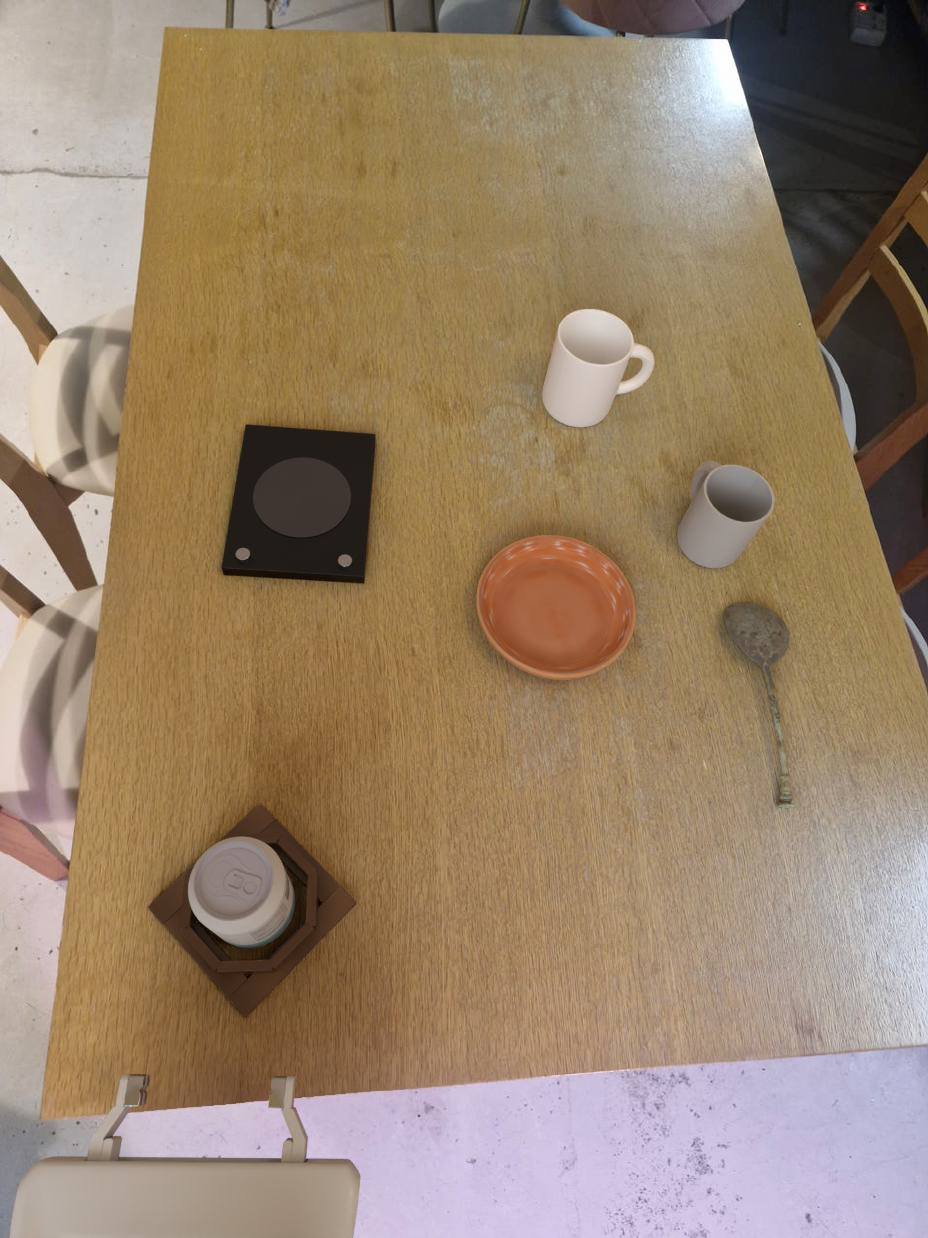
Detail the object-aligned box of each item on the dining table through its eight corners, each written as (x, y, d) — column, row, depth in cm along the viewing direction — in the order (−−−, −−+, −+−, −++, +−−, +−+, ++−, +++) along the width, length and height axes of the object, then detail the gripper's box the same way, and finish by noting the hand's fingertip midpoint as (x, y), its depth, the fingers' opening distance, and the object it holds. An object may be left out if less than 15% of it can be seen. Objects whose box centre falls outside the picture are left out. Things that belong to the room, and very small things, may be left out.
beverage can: (236, 851, 73) (213, 816, 62) (310, 882, 72) (299, 852, 62) (196, 930, 70) (164, 908, 59) (273, 963, 69) (255, 947, 58)
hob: (364, 583, 86) (364, 573, 84) (223, 575, 85) (220, 564, 83) (375, 442, 94) (375, 429, 92) (247, 432, 93) (244, 420, 91)
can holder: (246, 1018, 67) (241, 1016, 64) (149, 908, 70) (140, 902, 67) (356, 903, 72) (356, 897, 69) (261, 805, 75) (257, 796, 72)
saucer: (444, 586, 87) (446, 571, 84) (572, 526, 91) (578, 510, 89) (528, 716, 81) (533, 705, 78) (659, 645, 86) (668, 632, 83)
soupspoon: (775, 607, 90) (714, 606, 90) (787, 591, 87) (724, 589, 87) (816, 811, 79) (747, 810, 79) (832, 800, 76) (760, 799, 76)
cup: (690, 576, 90) (721, 530, 82) (655, 500, 94) (681, 449, 86) (751, 563, 91) (786, 516, 84) (713, 488, 96) (744, 437, 88)
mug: (633, 374, 102) (658, 308, 93) (646, 428, 99) (675, 365, 90) (535, 375, 101) (552, 308, 92) (546, 431, 97) (564, 366, 88)
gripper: (354, 1365, 47) (371, 1078, 53) (-32, 1368, 45) (32, 1073, 52) (357, 1332, 52) (371, 1076, 59) (13, 1334, 51) (66, 1072, 57)
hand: (210, 1075), depth 55 cm, fingers open, 8 cm apart
